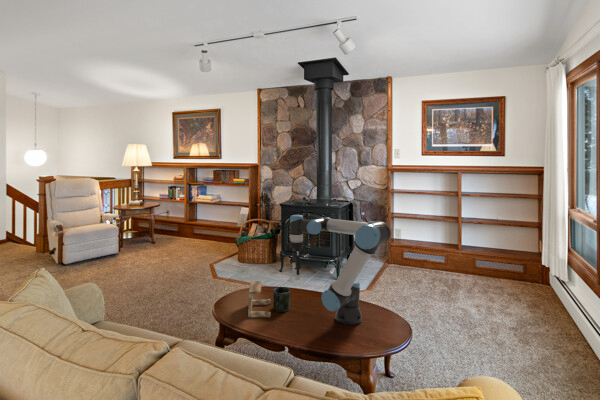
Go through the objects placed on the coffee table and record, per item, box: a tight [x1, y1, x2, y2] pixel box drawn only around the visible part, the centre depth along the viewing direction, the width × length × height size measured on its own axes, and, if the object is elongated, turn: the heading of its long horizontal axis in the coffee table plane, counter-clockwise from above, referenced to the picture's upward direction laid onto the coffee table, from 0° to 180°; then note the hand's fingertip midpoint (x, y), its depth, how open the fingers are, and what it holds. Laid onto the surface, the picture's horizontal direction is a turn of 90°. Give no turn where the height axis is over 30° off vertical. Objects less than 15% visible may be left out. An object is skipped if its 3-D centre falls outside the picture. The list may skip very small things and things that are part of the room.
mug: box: [272, 286, 292, 313], centre depth 217 cm, size 11×15×12 cm
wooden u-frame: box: [247, 280, 272, 319], centre depth 216 cm, size 13×21×15 cm, turn 5°
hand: (296, 276), depth 212 cm, fingers open, 13 cm apart
